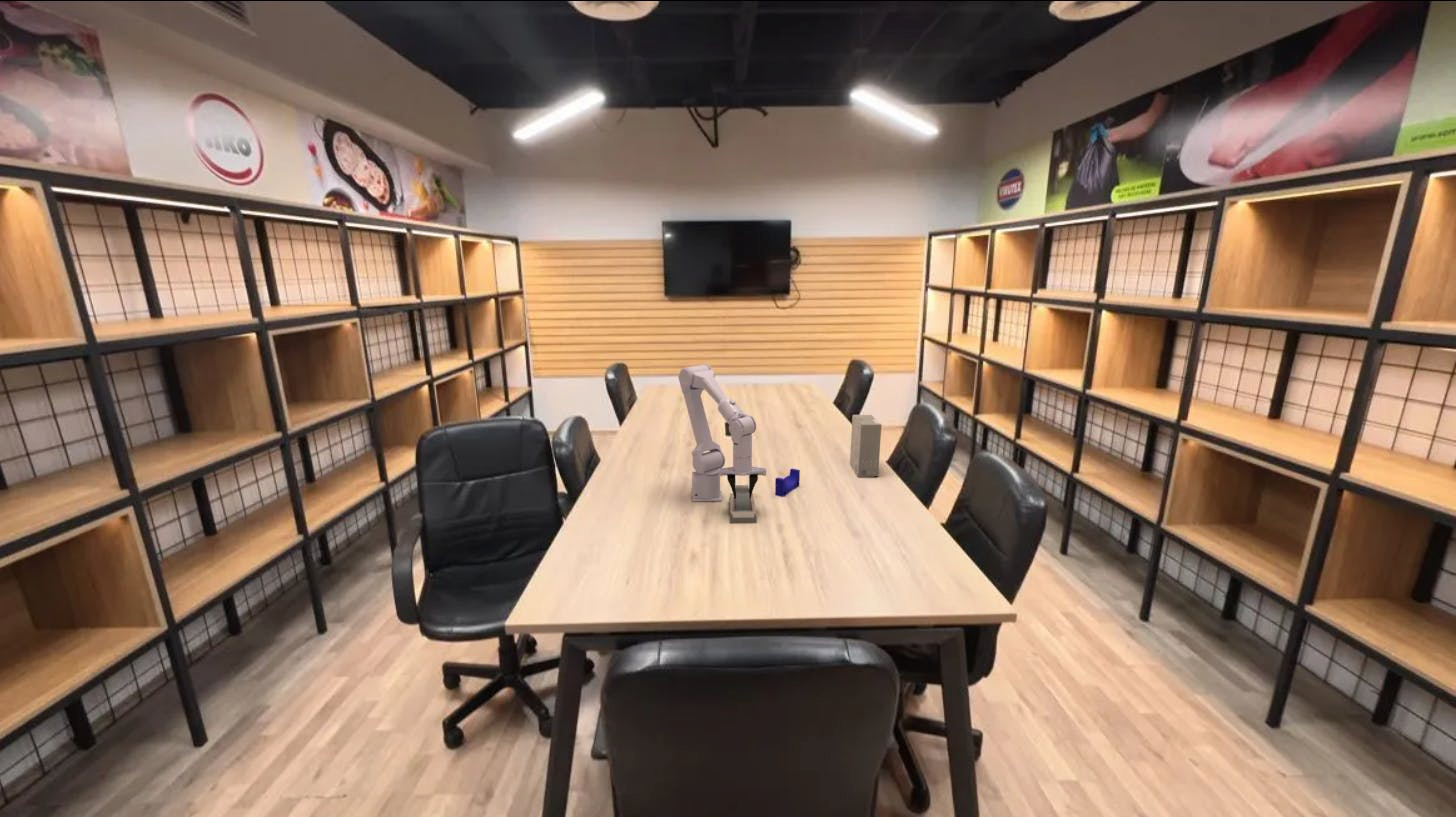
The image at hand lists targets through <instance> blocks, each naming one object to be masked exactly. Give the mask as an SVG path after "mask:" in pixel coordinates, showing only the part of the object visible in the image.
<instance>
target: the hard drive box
mask: <svg viewBox="0 0 1456 817" xmlns="http://www.w3.org/2000/svg"><path fill="white" fill-rule="evenodd" d="M882 426H883V425H882V424H881V423H880V422H879V421H878V419H877V418H875V417H874V415H872V414H852V417H851V435H850V436H851V437H850V455H849V456H850V457H849V464H850V466H851V468H852V467H853V468H852V469H854V470H853V471H854V473H855V475H856V474H857V475H856V477H857V478H860V477H861V478H862V477H863V478H875V477H874V476H878V477H879V469H880V468H879V466H880V452H881V439H882V438H881V437H882Z"/></svg>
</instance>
